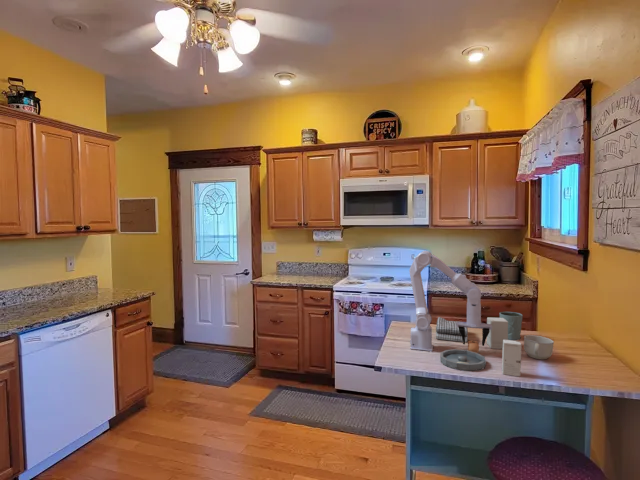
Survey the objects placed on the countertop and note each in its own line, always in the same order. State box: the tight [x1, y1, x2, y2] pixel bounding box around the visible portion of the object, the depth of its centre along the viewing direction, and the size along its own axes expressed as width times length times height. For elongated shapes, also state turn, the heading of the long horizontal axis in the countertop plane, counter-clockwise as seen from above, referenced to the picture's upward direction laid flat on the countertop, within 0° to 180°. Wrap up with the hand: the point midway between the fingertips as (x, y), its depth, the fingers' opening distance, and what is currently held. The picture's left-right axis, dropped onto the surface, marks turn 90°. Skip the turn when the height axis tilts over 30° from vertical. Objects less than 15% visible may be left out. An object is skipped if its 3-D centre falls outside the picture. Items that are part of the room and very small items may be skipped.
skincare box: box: [501, 340, 522, 377], centre depth 139 cm, size 6×4×12 cm
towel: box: [435, 316, 469, 343], centre depth 186 cm, size 15×18×8 cm
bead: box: [467, 340, 480, 354], centre depth 161 cm, size 4×4×5 cm
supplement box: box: [486, 317, 508, 350], centre depth 170 cm, size 7×7×13 cm
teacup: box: [523, 334, 555, 360], centre depth 155 cm, size 14×11×8 cm
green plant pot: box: [499, 311, 523, 341], centre depth 183 cm, size 10×10×12 cm
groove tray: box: [439, 348, 487, 372], centre depth 151 cm, size 17×17×2 cm
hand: (473, 344), depth 161 cm, fingers open, 7 cm apart
